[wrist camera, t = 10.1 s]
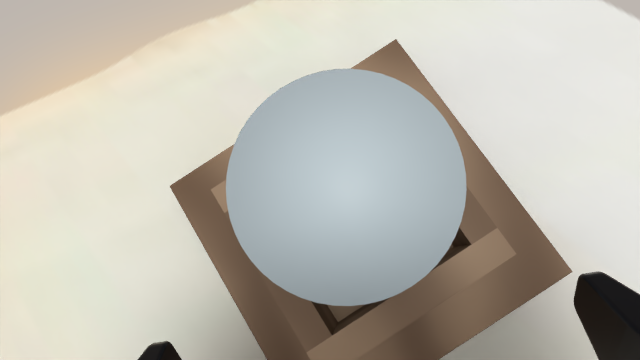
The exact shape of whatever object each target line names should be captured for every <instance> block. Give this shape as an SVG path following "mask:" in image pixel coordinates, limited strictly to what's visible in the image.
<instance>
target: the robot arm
mask: <svg viewBox="0 0 640 360" xmlns="http://www.w3.org/2000/svg"><path fill="white" fill-rule="evenodd" d="M574 306H575V309H576V312H577V314H578V316H579V318H580V320H581V322H582V325H583V327H584V329H585V331H586V333H587V335H588V337H589V340H590V342H591V344H592V346H593V348H594V350H595V352H596V355H597V357H598V359H599V360H640V294H638V293H637V292H635V291H633V290H632V289H630V288H628V287H627V286H625V285H623V284H622V283H620V282H618V281H617V280H615V279H613V278H612V277H610V276H608V275H607V274H605V273H602V272H592V273H585V274H581V275H580V276H579V278H578V281H577V286H576V291H575V296H574ZM138 360H182V359H181V358H180V356H179V355H178V353H177V352H176V350H175V348H174V347H173V345H172V344H171V343H170V342H168V341H164V342H158V343H153V344H151V345H150V346H148V347H147V349H146V350H145V351H144V352H143V354H142V355H141V356H140V357H139V359H138Z"/></svg>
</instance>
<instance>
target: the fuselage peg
mask: <svg viewBox="0 0 640 360" xmlns="http://www.w3.org/2000/svg"><path fill="white" fill-rule="evenodd" d="M466 190H467V189H466V172H465V166H464V160H463V156H462V153H461V150H460V147H459V144H458V142H457V140H456V137H455V135H454V133H453V131H452V129H451V128H450V126H449V125H448V123H447V121H446V120H445V118H444V117H443V116H442V114H441V113H440V112H439V111H438V110H437V109H436V107H435V106H434V105H433V104H432V103H431V102H430V101H429V100H427V99H426V98H425V97H424V96H423V95H422V94H420V93H419V92H418V91H416V90H415V89H413V88H412V87H410V86H409V85H407V84H405V83H403V82H401V81H399V80H397V79H395V78H392V77H389V76H386V75H384V74H381V73H376V72H372V71H367V70H359V69H334V70H328V71H321V72H318V73H314V74H311V75H307V76H305V77H302V78H300V79H297V80H295V81H293V82H291V83H289V84H288V85H286V86H284V87H282V88H280V89H279V90H278V91H276V92H275V93H274V94H272V95H271V96H270V97H268V98H267V99H266V100H265V101H264V102H263V103H262V104H261V105H260V106H259V107H258V108H257V109H256V110H255V112H254V113H253V114H252V115H251V116H250V118H249V119H248V120H247V122H246V124H245V125H244V127H243V128H242V130H241V131H240V134H239V136H238V138H237V140H236V142H235V144H234V147H233V150H232V153H231V156H230V159H229V164H228V170H227V177H226V199H227V207H228V212H229V217H230V221H231V224H232V227H233V229H234V232H235V235H236V237H237V239H238V241H239V243H240V245H241V247H242V248H243V250H244V251H245V253H246V254H247V256H248V257H249V259H250V260H251V261H252V262H253V264H254V265H255V266H256V267H257V268H258V269H259V270H260V271H261V272H262V273H263V274H264V275H265V276H266V277H267V278H269V279H270V280H271V281H272V282H273V283H275V284H276V285H278V286H280V287H281V288H283V289H284V290H286V291H288V292H290V293H292V294H294V295H296V296H298V297H300V298H303V299H306V300H309V301H313V302H316V303H321V304H327V305H333V306H355V305H365V304H370V303H374V302H378V301H382V300H385V299H387V298H390V297H392V296H395V295H397V294H399V293H401V292H403V291H405V290H406V289H408V288H410V287H412V286H413V285H415V284H416V283H417V282H418V281H420V280H421V279H422V278H424V277H425V276H426V275H427V274H428V273H429V272H430V271H431V270H432V269H433V268H434V267H435V266H436V265H437V264H438V263H439V261H440V260H441V259H442V257H443V256H444V255H445V254H446V252H447V251H448V249H449V247H450V245H451V244H452V242H453V240H454V238H455V236H456V234H457V231H458V229H459V226H460V223H461V220H462V216H463V212H464V208H465V201H466Z"/></svg>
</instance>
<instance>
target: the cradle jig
mask: <svg viewBox="0 0 640 360" xmlns="http://www.w3.org/2000/svg"><path fill="white" fill-rule="evenodd" d="M351 69H359V70H367V71H372V72H376V73H381V74H384V75H386V76H389V77H392V78H395V79H397V80H399V81H401V82H403V83H405V84H407V85H409V86H410V87H412V88H413V89H415V90H416V91H418V92H419V93H420V94H422V95H423V96H424V97H425V98H426V99H427V100H429V101H430V102H431V103H432V104H433V105H434V106H435V107H436V109H437V110H438V111H439V112H440V113H441V114H442V116H443V117H444V118H445V120H446V121H447V123H448V125H449V126H450V128H451V129H452V131H453V133H454V135H455V137H456V140H457V142H458V144H459V147H460V150H461V153H462V156H463V160H464V166H465V172H466V189H467V190H466V201H465V208H464V212H463V216H462V220H461V223H460V226H459V229H458V231H457V234H456V236H455V238H454V240H453V242H452V244H451V245H450V247H449V249H448V251H447V252H446V254H445V255H444V256H443V257H442V259H441V260H440V261H439V263H438V264H437V265H436V266H435V267H434V268H433V269H432V270H431V271H430V272H429V273H428V274H427V275H426V276H425V277H424V278H422V279H421V280H420V281H418V282H417V283H416V284H415V285H413V286H412V287H410V288H408V289H406V290H405V291H403V292H401V293H399V294H397V295H395V296H392V297H390V298H387V299H385V300H382V301H378V302H374V303H370V304H365V305H355V306H333V305H327V304H321V303H316V302H313V301H309V300H306V299H303V298H300V297H298V296H296V295H294V294H292V293H290V292H288V291H286V290H284V289H283V288H281V287H280V286H278V285H276V284H275V283H273V282H272V281H271V280H270V279H269V278H267V277H266V276H265V275H264V274H263V273H262V272H261V271H260V270H259V269H258V268H257V267H256V266H255V265H254V264H253V262H252V261H251V260H250V259H249V257H248V256H247V254H246V253H245V251H244V250H243V248H242V247H241V245H240V243H239V241H238V239H237V237H236V235H235V232H234V229H233V227H232V224H231V221H230V217H229V212H228V207H227V199H226V177H227V170H228V164H229V159H230V156H231V153H232V150H233V147H234V145H232V146H231V147H229V148H228V149H226V150H225V151H223V152H221V153H220V154H218V155H217V156H215V157H214V158H212V159H211V160H209V161H208V162H206V163H204V164H203V165H201V166H200V167H198V168H197V169H195V170H194V171H192V172H191V173H189V174H188V175H186V176H184V177H183V178H181V179H180V180H178V181H177V182H175V183H174V184H172V185H171V186H170V188H171V189H172V191H173V193H174V195H175V196H176V198H177V200H178V202H179V204H180V205H181V207H182V209H183V211H184V212H185V214H186V216H187V218H188V220H189V221H190V223H191V225H192V227H193V228H194V230H195V232H196V234H197V236H198V237H199V239H200V241H201V243H202V244H203V246H204V248H205V250H206V252H207V253H208V255H209V257H210V259H211V260H212V262H213V264H214V266H215V268H216V269H217V271H218V273H219V275H220V276H221V278H222V280H223V282H224V284H225V285H226V287H227V289H228V291H229V292H230V294H231V296H232V298H233V300H234V301H235V303H236V305H237V307H238V308H239V310H240V312H241V314H242V315H243V317H244V319H245V321H246V323H247V324H248V326H249V328H250V330H251V331H252V333H253V335H254V337H255V339H256V340H257V342H258V344H259V346H260V347H261V349H262V351H263V353H264V355H265V356H266V358H267V360H439V359H440V358H442V357H443V356H445V355H446V354H448V353H449V352H451V351H452V350H454V349H455V348H457V347H459V346H460V345H462V344H463V343H465V342H466V341H468V340H469V339H471V338H472V337H474V336H475V335H477V334H478V333H480V332H481V331H483V330H484V329H486V328H488V327H489V326H491V325H492V324H494V323H495V322H497V321H498V320H500V319H501V318H503V317H504V316H506V315H507V314H509V313H510V312H512V311H513V310H515V309H517V308H518V307H520V306H521V305H523V304H524V303H526V302H527V301H529V300H530V299H532V298H533V297H535V296H536V295H538V294H539V293H541V292H542V291H544V290H546V289H547V288H549V287H550V286H552V285H553V284H555V283H556V282H558V281H559V280H561V279H562V278H564V277H565V276H567V275H568V274H570V273H571V272H572V271H571V269H570V268H569V267H568V265H567V264H566V263H565V261H564V260H563V259H562V257H561V256H560V255H559V253H558V252H557V251H556V249H555V248H554V247H553V245H552V244H551V243H550V242H549V240H548V239H547V238H546V236H545V235H544V234H543V232H542V231H541V230H540V228H539V227H538V226H537V224H536V223H535V222H534V220H533V219H532V218H531V216H530V215H529V214H528V213H527V211H526V210H525V209H524V207H523V206H522V205H521V203H520V202H519V201H518V199H517V198H516V197H515V195H514V194H513V193H512V191H511V190H510V189H509V187H508V186H507V185H506V184H505V182H504V181H503V180H502V178H501V177H500V176H499V174H498V173H497V172H496V170H495V169H494V168H493V166H492V165H491V164H490V162H489V161H488V160H487V159H486V157H485V156H484V155H483V153H482V152H481V151H480V149H479V148H478V147H477V145H476V144H475V143H474V141H473V140H472V139H471V137H470V136H469V135H468V133H467V132H466V131H465V130H464V128H463V127H462V126H461V124H460V123H459V122H458V120H457V119H456V118H455V116H454V115H453V114H452V112H451V111H450V110H449V108H448V107H447V106H446V104H445V103H444V102H443V101H442V99H441V98H440V97H439V95H438V94H437V93H436V91H435V90H434V89H433V87H432V86H431V85H430V83H429V82H428V81H427V79H426V78H425V77H424V75H423V74H422V73H421V72H420V70H419V69H418V68H417V66H416V65H415V64H414V62H413V61H412V60H411V58H410V57H409V56H408V54H407V53H406V52H405V50H404V49H403V48H402V46H401V45H400V44H399V43H398V41H397V40H394V41H392V42H391V43H389V44H388V45H386V46H385V47H383V48H382V49H380V50H379V51H377V52H376V53H374V54H372V55H371V56H369V57H368V58H366V59H365V60H363V61H362V62H360V63H359V64H357V65H355V66H354V67H352V68H351Z"/></svg>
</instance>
